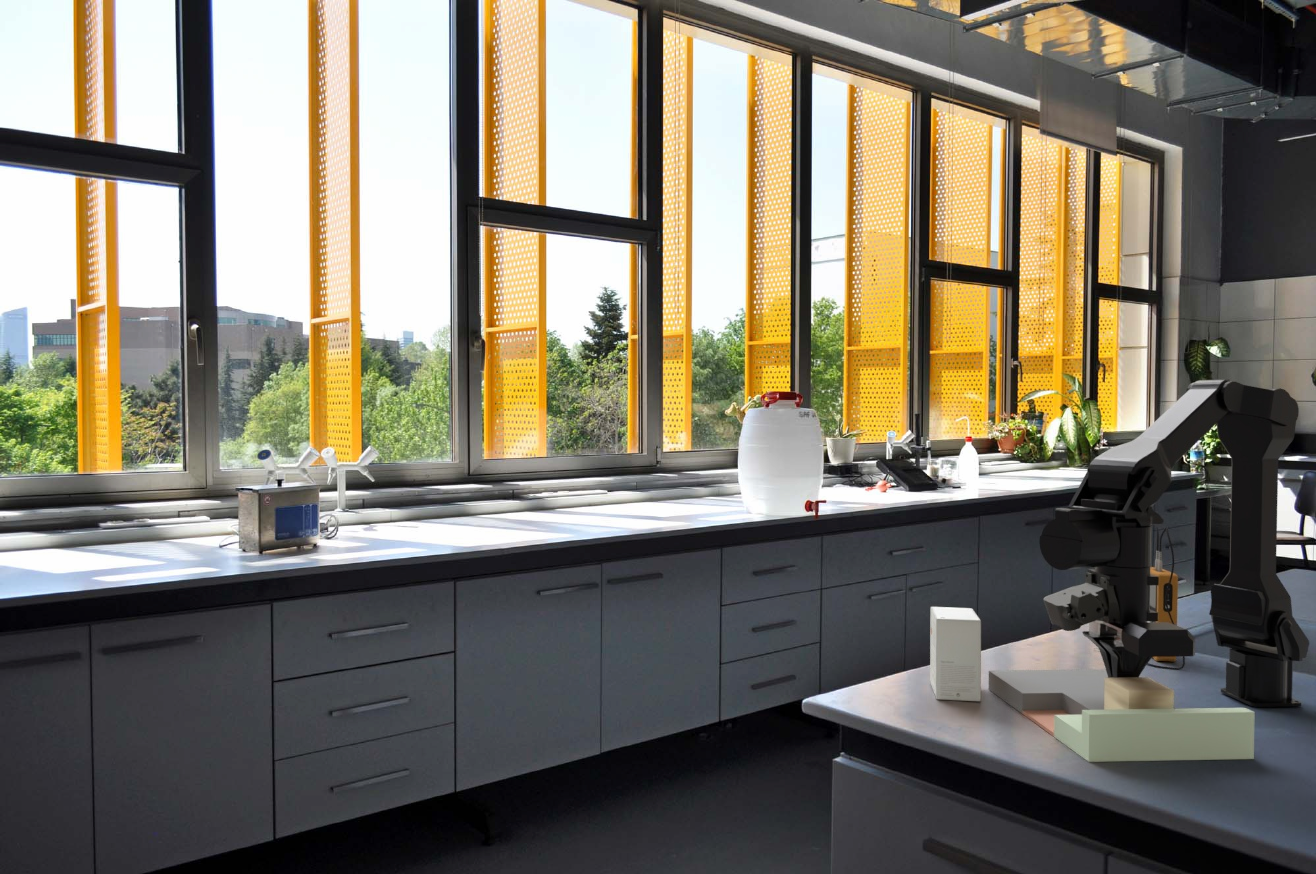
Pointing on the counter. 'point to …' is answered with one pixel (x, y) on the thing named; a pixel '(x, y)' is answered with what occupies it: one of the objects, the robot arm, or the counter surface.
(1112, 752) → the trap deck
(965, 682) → the small box
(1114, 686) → the birch block
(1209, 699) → the counter surface
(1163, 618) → the multimeter
